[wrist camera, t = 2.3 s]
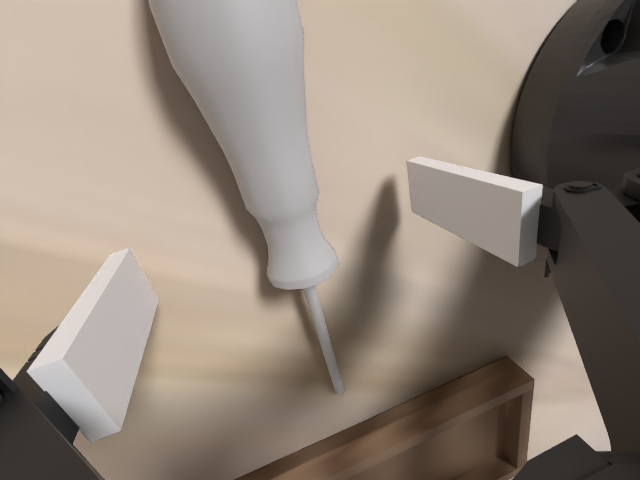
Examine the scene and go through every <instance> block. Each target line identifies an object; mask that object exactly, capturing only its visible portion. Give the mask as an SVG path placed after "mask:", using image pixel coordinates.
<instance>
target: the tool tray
mask: <svg viewBox="0 0 640 480" xmlns="http://www.w3.org/2000/svg"><path fill="white" fill-rule="evenodd" d="M533 389H534V379H533V378H532V377H531V376H530V375H529V374H528V373H526V372H525V371H524V370H523V369H522V368H521V367H519V366H518V365H517V364H516V363H515V362H514V361H512V360H511V359H510V358H509V357H508V356H507V357H504V358H502V359H500V360H498V361H496V362H493V363H491V364H489V365H487V366H485V367H482V368H480V369H478V370H476V371H474V372H471V373H469V374H467V375H465V376H463V377H460V378H458V379H456V380H454V381H452V382H449V383H447V384H445V385H443V386H441V387H438V388H436V389H434V390H432V391H430V392H427V393H425V394H423V395H421V396H419V397H416V398H414V399H412V400H410V401H408V402H405V403H403V404H401V405H399V406H397V407H394V408H392V409H390V410H388V411H386V412H383V413H381V414H379V415H377V416H375V417H372V418H370V419H368V420H366V421H364V422H361V423H359V424H357V425H355V426H353V427H350V428H348V429H346V430H344V431H341V432H339V433H337V434H335V435H333V436H330V437H328V438H326V439H324V440H322V441H319V442H317V443H315V444H313V445H311V446H308V447H306V448H304V449H302V450H300V451H297V452H295V453H293V454H291V455H289V456H286V457H284V458H282V459H280V460H278V461H275V462H273V463H271V464H269V465H267V466H264V467H262V468H260V469H258V470H256V471H253V472H251V473H249V474H247V475H245V476H242V477H240V478H238V479H236V480H509V479H511V478H513V477H514V476H516V475H517V473H518V472H519V471H520V470H521V468H522V467H523V466H524V465H525V464H526V461H527V451H528V441H529V431H530V420H531V410H532V400H533Z"/></svg>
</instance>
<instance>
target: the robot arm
mask: <svg viewBox="0 0 640 480" xmlns="http://www.w3.org/2000/svg"><path fill="white" fill-rule="evenodd" d="M511 167H512V175H513V178H512V177H507V176H503V175H499V174H494V173H490V172H486V171H481V170H477V169H473V168H468V167H464V166H460V165H455V164H451V163H447V162H442V161H438V160H434V159H429V158H425V157H421V156H420V157H417V158H413V159H410V160H407V170H408V180H409V190H410V199H411V209H412V212H413V213H415V214H417V215H419V216H421V217H423V218H425V219H427V220H428V221H430V222H432V223H434V224H436V225H438V226H440V227H442V228H444V229H446V230H448V231H449V232H451V233H453V234H455V235H457V236H459V237H461V238H463V239H465V240H467V241H469V242H471V243H472V244H474V245H476V246H478V247H480V248H482V249H484V250H486V251H488V252H490V253H492V254H494V255H495V256H497V257H499V258H501V259H503V260H505V261H507V262H509V263H511V264H513V265H515V266H516V267H520V266H522V265H525V264H527V263H529V262H532V261H534V260H536V254H537V244H540V245H542V246H544V247H547V248H548V249H547V258H546V267H545V277H548V276H549V273H552V276H553V279H554V281H555V284H556V287H557V290H558V293H559V296H560V298H561V301H562V304H563V307H564V310H565V313H566V316H567V318H568V321H569V324H570V327H571V330H572V333H573V335H574V338H575V341H576V344H577V347H578V350H579V353H580V355H581V358H582V361H583V364H584V367H585V370H586V372H587V375H588V378H589V381H590V384H591V387H592V390H593V392H594V395H595V398H596V401H597V404H598V407H599V410H600V412H601V415H602V418H603V421H604V424H605V427H606V429H607V432H608V436H609V439H610V444H611V451H595V450H594V449H592V448H591V447H590V446H589V445H588V444H587V443H586V442H585V441H583V440H582V439H581V438H580V437H579V436H578V435H577V434H576V435H574V436H573V437H571V438H569V439H567V440H565V441H563V442H562V443H560V444H558V445H556V446H554V447H552V448H551V449H549V450H547V451H545V452H543V453H541V454H540V455H538V456H536V457H534V458H532V459H530V460H529V461H527V462H526V464H525V465H524V466H523V467H522V468H521V470H520V471H519V472H518V473H517V475H516V476H515V477H514V478H513V479H512V480H640V0H578V1H577V2H576V3H575V4H574V5H573V6H572V7H571V9H570V10H569V11H568V12H567V13H566V14H565V16H564V17H563V18H562V19H561V21H560V22H559V23H558V25H557V26H556V27H555V29H554V30H553V32H552V33H551V35H550V36H549V38H548V39H547V41H546V43H545V44H544V46H543V48H542V49H541V51H540V53H539V55H538V57H537V59H536V61H535V63H534V65H533V67H532V69H531V71H530V73H529V76H528V78H527V81H526V83H525V86H524V89H523V92H522V94H521V98H520V101H519V104H518V108H517V112H516V116H515V121H514V127H513V133H512V143H511ZM158 302H159V299H158V297H157V296H156V294H155V292H154V290H153V288H152V287H151V285H150V283H149V281H148V279H147V278H146V276H145V274H144V272H143V270H142V269H141V267H140V265H139V263H138V262H137V260H136V258H135V256H134V254H133V253H132V251H131V249H130V248H128V249H125V250H122V251H119V252H115V253H112V254H110V256H109V257H108V258H107V260H106V261H105V263H104V264H103V265H102V267H101V268H100V270H99V271H98V272H97V274H96V275H95V277H94V278H93V279H92V281H91V282H90V284H89V285H88V286H87V288H86V289H85V291H84V292H83V293H82V295H81V296H80V298H79V299H78V300H77V302H76V303H75V305H74V306H73V307H72V309H71V310H70V312H69V313H68V314H67V316H66V317H65V319H64V320H63V321H62V323H61V324H60V325H59V326H58V327H56V328H55V329H54V330H53V331H52V332H51V333H50V334H48V335H47V336H46V337H45V338H44V339H43V340H42V342H41V343H40V344H39V346H38V347H37V349H36V352H34V353H33V354H32V355H31V357H30V358H29V359H28V362H26V363H25V365H24V366H23V367H22V369H21V370H20V371H19V373H18V374H17V375H16V377H15V378H14V379H13V381H12V380H11V379H10V378H9V377H8V376H7V375H6V374H5V373H4V371H3V370H2V369H1V368H0V480H105V479H104V478H103V477H102V476H101V475H100V474H99V473H98V472H97V471H96V469H95V468H94V467H93V466H92V465H91V464H90V463H89V462H88V461H87V459H86V458H85V457H84V456H83V455H82V454H81V453H80V452H79V451H78V450H77V448H76V447H75V446H74V445H73V442H74V439H75V437H76V435H77V432H78V430H80V431H81V432H82V434H83V435H84V436H85V437H86V438H87V439H88V440H89V441H90V442H91V443H92V442H95V441H97V440H100V439H102V438H105V437H107V436H109V435H112V434H114V433H117V432H119V431H121V429H122V425H123V422H124V419H125V415H126V412H127V408H128V405H129V401H130V398H131V395H132V391H133V388H134V384H135V381H136V377H137V374H138V370H139V367H140V364H141V360H142V357H143V353H144V350H145V346H146V343H147V340H148V336H149V333H150V329H151V326H152V322H153V319H154V315H155V312H156V309H157V305H158Z"/></svg>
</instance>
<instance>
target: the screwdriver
mask: <svg viewBox="0 0 640 480" xmlns="http://www.w3.org/2000/svg"><path fill="white" fill-rule="evenodd" d="M148 1H149V6H150V9H151V12H152V15H153V17H154V20H155V22H156V25H157V28H158V30H159V33H160V36H161V38H162V41H163V44H164V46H165V49H166V52H167V54H168V57H169V60H170V62H171V65H172V67H173V68H174V70H175V71H176V73H177V74H178V76H179V78H180V79H181V81H182V82H183V84H184V85H185V87H186V89H187V90H188V92H189V93H190V95H191V96H192V98H193V100H194V101H195V103H196V105H197V107H198V108H199V110H200V112H201V114H202V115H203V117H204V119H205V121H206V122H207V124H208V126H209V127H210V129H211V131H212V133H213V134H214V136H215V138H216V140H217V141H218V143H219V145H220V147H221V149H222V150H223V152H224V154H225V156H226V159H227V161H228V163H229V165H230V168H231V170H232V172H233V174H234V176H235V179H236V182H237V184H238V187H239V190H240V193H241V196H242V198H243V201H244V204H245V207H246V209H247V210H248V211H249V212H250V213H251V214H252V215H253V216H254V217H255V218H256V220H257V221H258V223H259V225H260V227H261V229H262V231H263V234H264V237H265V240H266V242H267V245H268V256H269V259H268V266H267V276H268V279H269V281H270V282H271V283H272V285H273V286H274V287H276V288H281V289H286V290H292V289H303V290H304V293H305V296H306V299H307V303H308V306H309V309H310V312H311V315H312V319H313V322H314V325H315V328H316V332H317V335H318V338H319V341H320V345H321V348H322V351H323V354H324V358H325V361H326V364H327V367H328V370H329V374H330V377H331V380H332V383H333V386H334V389H335V392H336V393H337V394H338V395H340V396H341V397H342V395H343V393H344V391H345V390H344V386H343V383H342V379H341V376H340V372H339V368H338V365H337V361H336V358H335V354H334V351H333V347H332V344H331V340H330V337H329V333H328V330H327V326H326V323H325V319H324V316H323V312H322V309H321V305H320V302H319V298H318V295H317V291H316V288H315V285H317V284H319V283H321V282H322V281H324V280H326V279H327V278H329V277H331V276H332V274H333V273H334V271H335V270H336V268H337V267H338V265H339V260H338V257H337V254H336V251H335V249H334V248H333V247H332V246H331V244H330V243H329V242H328V241H327V240H326V239H325V237H324V235H323V233H322V232H321V229H320V225H319V221H318V217H317V205H316V204H317V200H318V196H319V188H318V184H317V180H316V176H315V171H314V167H313V163H312V158H311V152H310V146H309V139H308V133H307V119H306V101H305V83H304V33H303V27H302V23H301V18H300V13H299V9H298V4H297V0H148Z"/></svg>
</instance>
